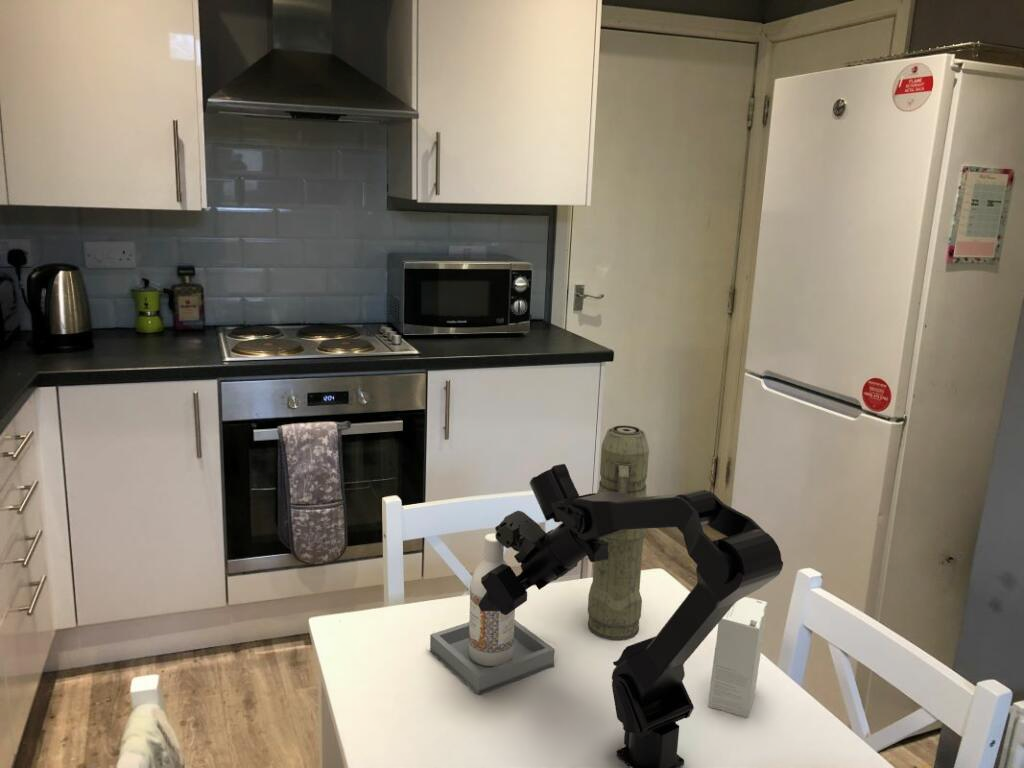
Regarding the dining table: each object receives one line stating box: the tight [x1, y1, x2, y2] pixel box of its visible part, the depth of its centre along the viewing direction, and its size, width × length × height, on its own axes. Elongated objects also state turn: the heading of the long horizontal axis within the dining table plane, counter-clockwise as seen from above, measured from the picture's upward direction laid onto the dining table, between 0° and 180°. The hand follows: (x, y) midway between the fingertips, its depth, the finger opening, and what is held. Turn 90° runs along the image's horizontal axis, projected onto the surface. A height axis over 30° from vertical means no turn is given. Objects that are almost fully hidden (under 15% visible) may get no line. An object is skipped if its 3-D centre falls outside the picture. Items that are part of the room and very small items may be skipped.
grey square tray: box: [429, 619, 556, 696], centre depth 131 cm, size 14×14×3 cm
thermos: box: [587, 424, 650, 642], centre depth 138 cm, size 9×12×35 cm
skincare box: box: [707, 596, 768, 718], centre depth 122 cm, size 8×6×15 cm
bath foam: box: [468, 532, 516, 666], centre depth 129 cm, size 7×7×20 cm
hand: (498, 596), depth 128 cm, fingers open, 9 cm apart
